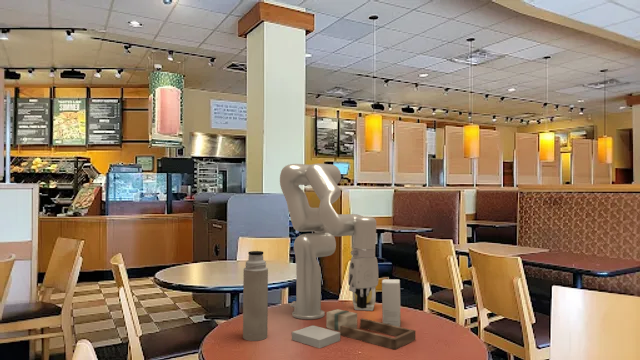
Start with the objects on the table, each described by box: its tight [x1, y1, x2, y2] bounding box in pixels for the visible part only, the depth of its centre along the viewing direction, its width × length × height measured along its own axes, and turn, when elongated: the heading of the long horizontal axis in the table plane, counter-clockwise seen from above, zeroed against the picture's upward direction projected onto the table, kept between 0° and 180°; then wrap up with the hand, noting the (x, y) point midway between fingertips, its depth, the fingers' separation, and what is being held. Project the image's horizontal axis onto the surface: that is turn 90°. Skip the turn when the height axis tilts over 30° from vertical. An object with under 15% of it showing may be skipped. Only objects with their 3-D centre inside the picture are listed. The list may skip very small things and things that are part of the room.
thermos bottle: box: [242, 250, 269, 342], centre depth 146 cm, size 8×8×28 cm
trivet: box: [291, 325, 341, 349], centre depth 142 cm, size 12×10×2 cm
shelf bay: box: [339, 318, 416, 350], centre depth 145 cm, size 21×12×3 cm, turn 48°
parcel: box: [325, 308, 358, 332], centre depth 155 cm, size 9×6×6 cm
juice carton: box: [352, 286, 377, 312], centre depth 183 cm, size 9×8×24 cm
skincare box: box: [381, 278, 401, 327], centre depth 161 cm, size 8×7×16 cm
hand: (361, 307), depth 150 cm, fingers closed
